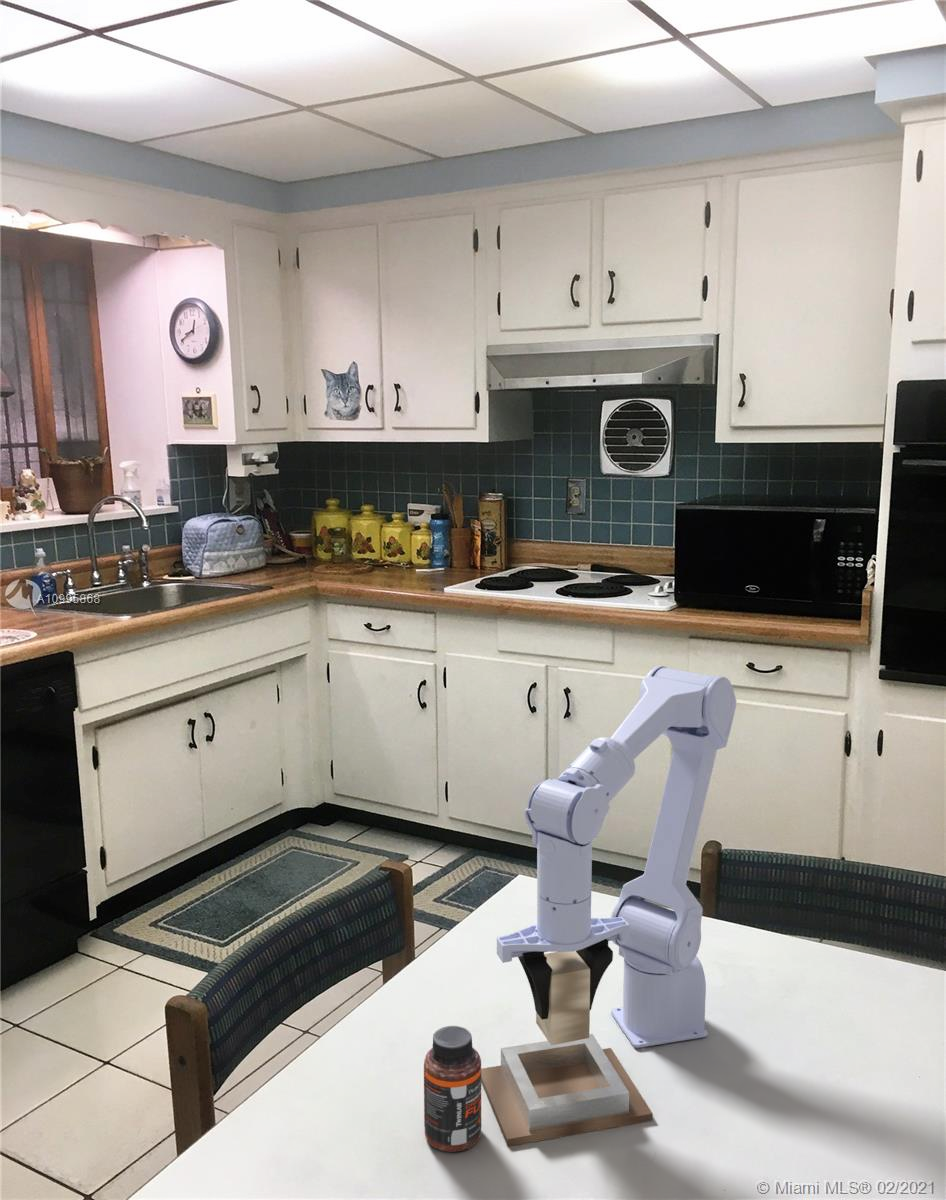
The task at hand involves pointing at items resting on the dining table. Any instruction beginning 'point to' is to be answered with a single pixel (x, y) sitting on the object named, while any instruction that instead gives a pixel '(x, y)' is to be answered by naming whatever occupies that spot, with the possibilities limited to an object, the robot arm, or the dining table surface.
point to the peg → (567, 999)
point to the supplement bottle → (452, 1091)
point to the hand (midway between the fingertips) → (563, 1010)
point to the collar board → (560, 1091)
